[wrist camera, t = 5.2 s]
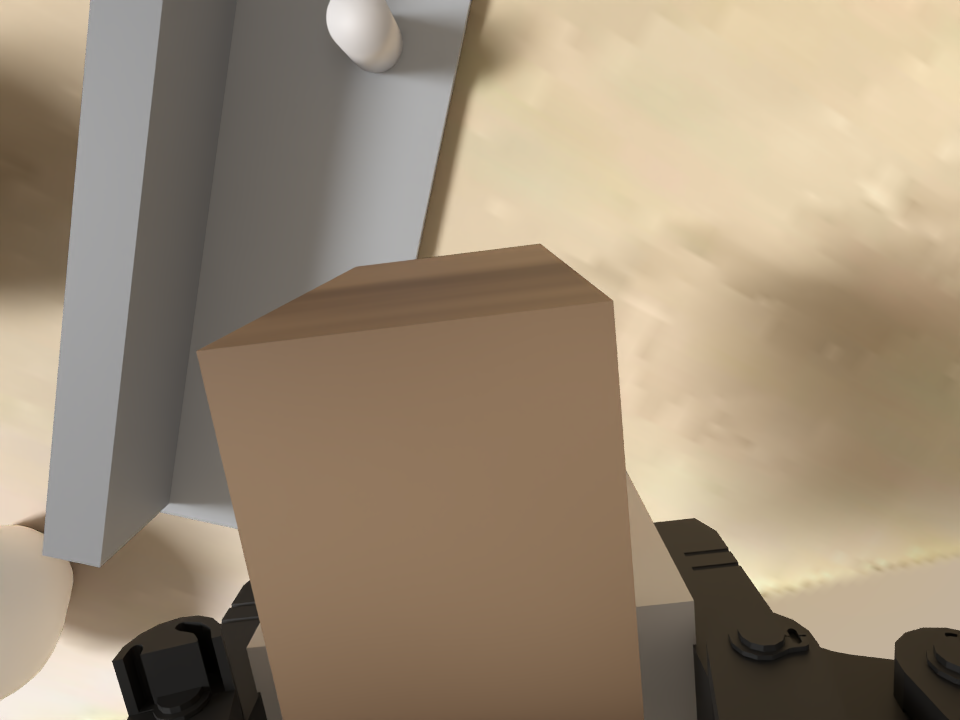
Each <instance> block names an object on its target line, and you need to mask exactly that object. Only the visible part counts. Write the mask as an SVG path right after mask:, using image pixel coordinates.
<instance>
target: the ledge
mask: <svg viewBox="0 0 960 720" xmlns="http://www.w3.org/2000/svg"><path fill="white" fill-rule="evenodd" d="M471 1H472V0H90V11H89V22H88V34H87V45H86V57H85V68H84V80H83V91H82V103H81V114H80V126H79V137H78V149H77V160H76V171H75V183H74V194H73V206H72V217H71V229H70V240H69V252H68V263H67V275H66V286H65V298H64V309H63V321H62V332H61V344H60V355H59V367H58V378H57V390H56V401H55V412H54V424H53V435H52V447H51V458H50V470H49V481H48V493H47V504H46V516H45V527H44V539H43V550H42V555H43V556H48V557H53V558H57V559H62V560H67V561H71V562H76V563H81V564H86V565H90V566H95V567H101V566H102V565H103V564H104V563H105V562H106V561H108V560H109V559H110V558H111V557H112V556H113V555H114V554H115V553H116V552H117V551H118V550H119V549H121V548H122V547H123V546H124V545H125V544H126V543H127V542H128V541H129V540H130V539H131V538H132V537H133V536H135V535H136V534H137V533H138V532H139V531H140V530H141V529H142V528H143V527H144V526H145V525H146V524H147V523H149V522H150V521H151V520H152V519H153V518H154V517H155V516H156V515H157V514H158V513H159V512H161V513H166V514H171V515H175V516H180V517H184V518H189V519H194V520H198V521H203V522H207V523H212V524H217V525H221V526H226V527H230V528H235V529H238V527H237V523H236V519H235V514H234V510H233V506H232V502H231V497H230V493H229V489H228V485H227V480H226V476H225V472H224V468H223V463H222V459H221V455H220V451H219V446H218V442H217V438H216V434H215V429H214V425H213V421H212V417H211V412H210V408H209V404H208V400H207V395H206V391H205V387H204V383H203V378H202V374H201V370H200V366H199V361H198V357H197V353H196V351H197V350H199V349H201V348H203V347H205V346H207V345H209V344H211V343H212V342H214V341H216V340H218V339H220V338H222V337H224V336H226V335H228V334H229V333H231V332H233V331H235V330H237V329H239V328H241V327H243V326H245V325H246V324H248V323H250V322H252V321H254V320H256V319H258V318H260V317H262V316H263V315H265V314H267V313H269V312H271V311H273V310H275V309H277V308H279V307H280V306H282V305H284V304H286V303H288V302H290V301H292V300H294V299H296V298H298V297H299V296H301V295H303V294H305V293H307V292H309V291H311V290H313V289H315V288H316V287H318V286H320V285H322V284H324V283H326V282H328V281H330V280H332V279H333V278H335V277H337V276H339V275H341V274H343V273H345V272H347V271H349V270H350V269H352V268H354V267H357V266H365V265H373V264H381V263H389V262H397V261H405V260H413V259H417V257H418V252H419V247H420V243H421V238H422V233H423V229H424V224H425V219H426V214H427V210H428V205H429V200H430V195H431V191H432V186H433V181H434V176H435V172H436V167H437V162H438V157H439V153H440V148H441V143H442V139H443V134H444V129H445V124H446V120H447V115H448V110H449V105H450V101H451V96H452V91H453V86H454V82H455V77H456V72H457V67H458V63H459V58H460V53H461V49H462V44H463V39H464V34H465V30H466V25H467V20H468V15H469V11H470V6H471Z"/></svg>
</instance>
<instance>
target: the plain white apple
mask: <svg viewBox="0 0 960 720" xmlns="http://www.w3.org/2000/svg"><path fill="white" fill-rule="evenodd" d="M43 539H44V534H43V533H41V532H39V531H36V530H34V529H32V528H29V527H25V526H20V525H4V526H0V700H2V699H4V698H6V697H7V696H9V695H11V694H13V693H14V692H16V691H17V690H19V689H20V688H21V687H23V686H24V685H25V684H27V683H28V682H29V681H30V680H31V679H32V678H34V677H35V676H36V675H37V674H38V673H39V672H40V671H41V669H42V668H43V666H44V665H45V664H46V662H47V661H48V659H49V657H50V656H51V654H52V653H53V651H54V649H55V646H56V644H57V642H58V639H59V637H60V635H61V632H62V630H63V627H64V623H65V618H66V613H67V609H68V605H69V601H70V597H71V592H72V587H73V571H72V568H71V565H70V562H69V561H67V560H62V559H57V558H53V557H48V556H43V555H42V550H43Z"/></svg>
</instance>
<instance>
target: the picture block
mask: <svg viewBox="0 0 960 720" xmlns="http://www.w3.org/2000/svg"><path fill="white" fill-rule="evenodd" d="M196 353H197V357H198V361H199V366H200V370H201V374H202V378H203V383H204V387H205V391H206V395H207V400H208V404H209V408H210V412H211V417H212V421H213V425H214V429H215V434H216V438H217V442H218V446H219V451H220V455H221V459H222V463H223V468H224V472H225V476H226V480H227V485H228V489H229V493H230V497H231V502H232V506H233V510H234V514H235V519H236V523H237V527H238V531H239V536H240V540H241V544H242V548H243V553H244V557H245V561H246V565H247V570H248V574H249V578H250V582H251V587H252V591H253V595H254V599H255V604H256V608H257V612H258V616H259V621H260V625H261V629H262V633H263V638H264V642H265V646H266V650H267V655H268V659H269V663H270V667H271V672H272V676H273V680H274V684H275V689H276V693H277V697H278V701H279V706H280V710H281V714H282V718H283V720H644V710H643V696H642V683H641V669H640V656H639V642H638V629H637V615H636V602H635V588H634V575H633V562H632V548H631V535H630V521H629V508H628V494H627V481H626V467H625V454H624V440H623V427H622V414H621V400H620V387H619V373H618V360H617V346H616V333H615V319H614V306H613V300H612V299H610V298H609V297H608V296H606V295H605V294H604V293H603V292H601V291H600V290H599V289H597V288H596V287H595V286H594V285H592V284H591V283H590V282H588V281H587V280H586V279H585V278H583V277H582V276H581V275H580V274H578V273H577V272H576V271H574V270H573V269H572V268H571V267H569V266H568V265H567V264H565V263H564V262H563V261H562V260H560V259H559V258H558V257H556V256H555V255H554V254H553V253H551V252H550V251H549V250H548V249H546V248H545V247H544V246H542V245H541V244H534V245H526V246H518V247H510V248H502V249H494V250H486V251H478V252H470V253H462V254H454V255H446V256H438V257H430V258H422V259H413V260H405V261H397V262H389V263H381V264H373V265H365V266H357V267H354V268H352V269H350V270H349V271H347V272H345V273H343V274H341V275H339V276H337V277H335V278H333V279H332V280H330V281H328V282H326V283H324V284H322V285H320V286H318V287H316V288H315V289H313V290H311V291H309V292H307V293H305V294H303V295H301V296H299V297H298V298H296V299H294V300H292V301H290V302H288V303H286V304H284V305H282V306H280V307H279V308H277V309H275V310H273V311H271V312H269V313H267V314H265V315H263V316H262V317H260V318H258V319H256V320H254V321H252V322H250V323H248V324H246V325H245V326H243V327H241V328H239V329H237V330H235V331H233V332H231V333H229V334H228V335H226V336H224V337H222V338H220V339H218V340H216V341H214V342H212V343H211V344H209V345H207V346H205V347H203V348H201V349H199V350H197V351H196Z"/></svg>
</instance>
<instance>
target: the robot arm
mask: <svg viewBox="0 0 960 720" xmlns="http://www.w3.org/2000/svg"><path fill="white" fill-rule="evenodd" d="M626 481H627V494H628V508H629V521H630V535H631V548H632V562H633V575H634V588H635V602H636V615H637V629H638V642H639V656H640V669H641V683H642V696H643V710H644V720H960V631H959V630H954V629H949V628H920V629H917V630H913V631H910V632H907V633H904V634H903V635H902V636H901V637H900V638H899V639H898V640H897V641H896V642H895V659H894V660H890V659H882V658H874V657H866V656H857V655H849V654H844V653H838V652H834V651H830V650H827V649H824V648H821V647H820V646H819V644H818V643H817V641H816V640H815V638H814V637H813V636H812V634H811V633H810V632H809V631H808V630H807V629H806V628H804V627H802V626H801V625H800V624H798V623H797V622H795V621H794V620H792V619H789V618H786V617H784V616H781V615H778V614H776V613H773V612H772V610H771V609H770V607H769V606H768V605H767V603H766V602H765V600H764V599H763V597H762V596H761V594H760V593H759V592H758V590H757V589H756V587H755V586H754V584H753V583H752V582H751V580H750V579H749V577H748V576H747V574H746V573H745V572H744V570H743V569H742V567H741V566H739V565H738V561H737V560H736V559H735V557H734V556H733V554H732V553H731V551H730V552H729V550H728V547H727V546H726V544H725V543H724V541H723V540H722V539H721V537H720V536H719V534H718V533H717V531H715V530H714V529H712V528H710V527H709V526H707V525H705V524H704V523H702V522H700V521H699V520H697V519H695V518H692V519H683V520H674V521H665V522H656V523H653V521H652V519H651V517H650V515H649V513H648V511H647V510H646V508H645V506H644V504H643V502H642V500H641V498H640V496H639V494H638V492H637V490H636V488H635V486H634V485H633V483H632V481H631V479H630V477H629V475H628V473H627V471H626ZM112 662H113V666H114V669H115V672H116V675H117V679H118V682H119V685H120V689H121V692H122V695H123V698H124V702H125V705H126V708H127V711H128V715H129V717H128V719H127V720H283V718H282V714H281V710H280V706H279V701H278V697H277V693H276V689H275V684H274V680H273V676H272V672H271V667H270V663H269V659H268V655H267V650H266V646H265V642H264V638H263V633H262V629H261V625H260V621H259V616H258V612H257V608H256V604H255V599H254V595H253V591H252V587H251V582H250V581H248V582H247V583H246V584H245V585H244V586H243V587H242V589H241V590H240V592H239V593H238V595H237V597H236V598H235V600H234V601H233V603H232V608H229V609H228V611H227V613H226V614H225V616H224V617H223V619H222V624H219V623H218V622H217V621H216V620H214V619H213V618H210V617H204V616H190V617H182V618H178V619H175V620H171V621H168V622H165V623H162V624H159V625H157V626H155V627H153V628H151V629H150V630H148V631H146V632H144V633H142V634H140V635H138V636H137V637H136V638H135V639H133V640H132V641H131V642H129V643H128V644H127V645H125V646H124V647H123V648H122V649H121V651H120V652H119V653H118V654H117V656H116V657H115V658H114V659H113V661H112Z"/></svg>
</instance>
